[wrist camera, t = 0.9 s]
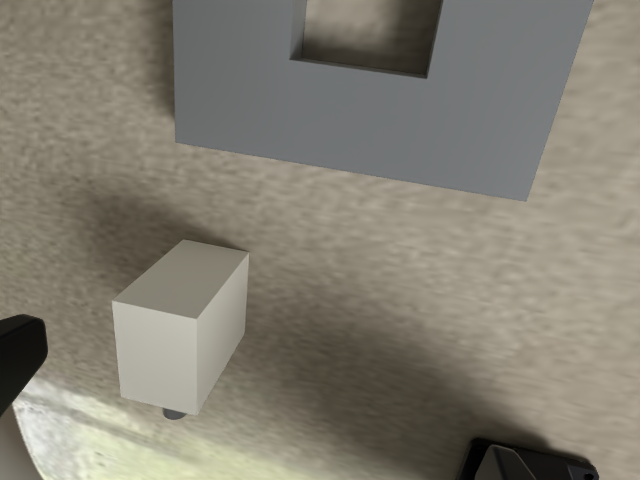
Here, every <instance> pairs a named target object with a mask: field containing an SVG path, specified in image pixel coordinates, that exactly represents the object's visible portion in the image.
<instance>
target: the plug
mask: <svg viewBox="0 0 640 480" xmlns="http://www.w3.org/2000/svg"><path fill="white" fill-rule="evenodd" d="M248 265H249V252H246V251H241V250H235V249H230V248H225V247H220V246H215V245H210V244H205V243H200V242H195V241H190V240H185V239H183V240H182V241H181V242H180V243H178V244H177V245H176V246H175V247H174V248H173V249H171V250H170V251H169V252H168V253H167V254H166V255H164V256H163V257H162V258H161V259H160V260H159V261H157V262H156V263H155V264H154V265H153V266H152V267H150V268H149V269H148V270H147V271H146V272H145V273H143V274H142V275H141V276H140V277H139V278H137V279H136V280H135V281H134V282H133V283H132V284H130V285H129V286H128V287H127V288H126V289H125V290H123V291H122V292H121V293H120V294H119V295H118V296H116V297H115V298H114V299H113V300H112V309H113V319H114V329H115V340H116V350H117V360H118V370H119V381H120V391H121V397H123V398H127V399H131V400H135V401H139V402H143V403H147V404H151V405H155V406H159V407H163V415H164V416H165V417H166V418H168V419H171V420H176V419H180V418H182V417H184V416H185V415H186V414H191V415H195V416H197V415H198V413H199V411H200V410H201V408H202V406H203V404H204V403H205V401H206V399H207V397H208V396H209V394H210V392H211V391H212V389H213V387H214V385H215V384H216V382H217V380H218V379H219V377H220V375H221V373H222V372H223V370H224V368H225V366H226V365H227V363H228V361H229V360H230V358H231V356H232V354H233V353H234V351H235V349H236V348H237V346H238V344H239V342H240V341H241V339H242V337H243V335H244V334H245V320H246V302H247V283H248Z"/></svg>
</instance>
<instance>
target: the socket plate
mask: <svg viewBox="0 0 640 480" xmlns="http://www.w3.org/2000/svg"><path fill="white" fill-rule="evenodd" d="M593 1H594V0H441V4H440V9H439V13H438V18H437V23H436V28H435V33H434V38H433V43H432V47H431V52H430V57H429V62H428V67H427V72H426V75H420V74H413V73H406V72H399V71H391V70H384V69H377V68H370V67H363V66H355V65H348V64H341V63H334V62H327V61H319V60H312V59H305V58H301V57H302V47H303V36H304V25H305V14H306V3H307V0H172V4H173V50H174V96H175V142H176V143H182V144H187V145H193V146H199V147H205V148H211V149H217V150H223V151H229V152H235V153H241V154H247V155H253V156H259V157H264V158H270V159H276V160H282V161H288V162H294V163H300V164H306V165H312V166H318V167H324V168H330V169H336V170H341V171H347V172H353V173H359V174H365V175H371V176H377V177H383V178H389V179H395V180H401V181H407V182H412V183H418V184H424V185H430V186H436V187H442V188H448V189H454V190H460V191H466V192H472V193H478V194H484V195H489V196H495V197H501V198H507V199H513V200H519V201H525V202H526V201H527V198H528V195H529V192H530V189H531V186H532V183H533V180H534V177H535V174H536V171H537V168H538V165H539V162H540V159H541V156H542V153H543V150H544V147H545V144H546V141H547V138H548V135H549V133H550V130H551V127H552V124H553V121H554V118H555V115H556V112H557V109H558V106H559V103H560V100H561V97H562V94H563V91H564V88H565V85H566V82H567V79H568V76H569V73H570V70H571V67H572V64H573V61H574V58H575V55H576V52H577V49H578V46H579V43H580V40H581V37H582V34H583V31H584V28H585V25H586V22H587V19H588V16H589V13H590V10H591V7H592V4H593Z"/></svg>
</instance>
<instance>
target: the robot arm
mask: <svg viewBox="0 0 640 480" xmlns="http://www.w3.org/2000/svg"><path fill="white" fill-rule="evenodd" d="M47 354H48V345H47V336H46V328H45V323H44V321H43V320H42V319H40V318H37V317H34V316H30V315H26V314H20V315H16V316H13V317H9V318H6V319H3V320H0V418H1V417H2V415H3V414H4V413H5V412H6V410H7V409H8V408H9V406H10V405H11V404H12V403H13V401H14V400H15V399H16V398H17V396H18V395H19V394H20V392H21V391H22V390H23V389H24V387H25V386H26V385H27V383H28V382H29V381H30V380H31V378H32V377H33V376H34V374H35V373H36V372H37V371H38V369H39V368H40V367H41V365H42V364H43V363H44V361H45V359H46V357H47ZM587 473H588V474H587ZM456 480H599V475H598V472H597V470H596V468H595V467H594V466H593V465H591V464H588V463H584V462H580V461H575V460H571V459H567V458H563V457H558V456H554V455H550V454H546V453H541V452H537V451H533V450H529V449H524V448H520V447H516V446H511V445H507V444H503V443H499V442H494V441H490V440H486V439H482V438H475V439H473V440H471V441H470V443H469V445H468V448H467V451H466V453H465V456H464V459H463V462H462V464H461V467H460V470H459V472H458V475H457V478H456Z"/></svg>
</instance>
